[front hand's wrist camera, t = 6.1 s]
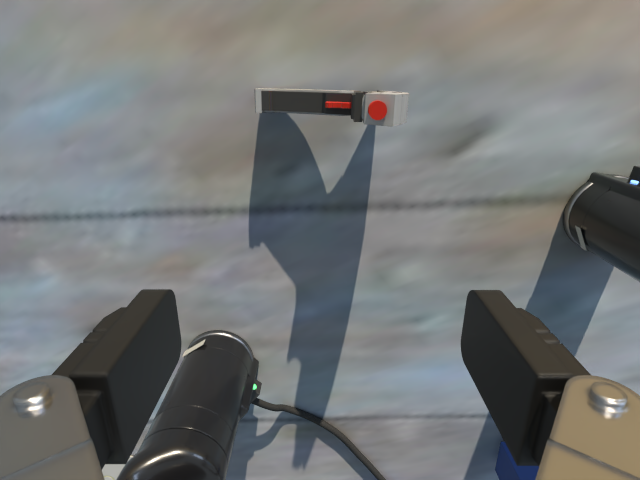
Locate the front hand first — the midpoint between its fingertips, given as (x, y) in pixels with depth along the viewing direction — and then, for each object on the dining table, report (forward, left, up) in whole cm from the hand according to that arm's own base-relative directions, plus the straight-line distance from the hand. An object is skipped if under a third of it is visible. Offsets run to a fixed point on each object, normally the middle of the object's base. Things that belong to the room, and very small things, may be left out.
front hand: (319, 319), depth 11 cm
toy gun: (+2, -4, -39) cm, 39 cm away
